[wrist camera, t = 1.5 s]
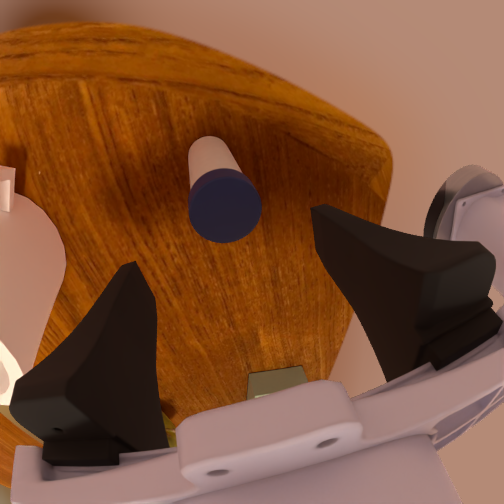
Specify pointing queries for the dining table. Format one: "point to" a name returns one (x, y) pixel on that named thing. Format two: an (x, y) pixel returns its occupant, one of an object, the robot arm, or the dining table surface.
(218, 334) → the dining table surface
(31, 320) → the mug
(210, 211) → the test tube
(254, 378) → the tube rack
